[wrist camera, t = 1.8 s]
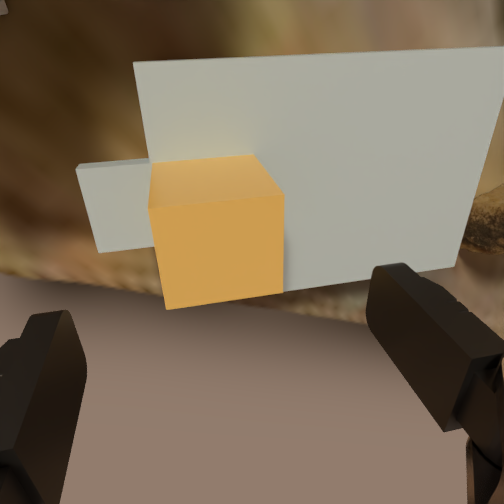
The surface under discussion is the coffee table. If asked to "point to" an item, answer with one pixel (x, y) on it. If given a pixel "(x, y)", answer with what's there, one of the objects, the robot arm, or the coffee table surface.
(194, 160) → the lid
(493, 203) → the rock
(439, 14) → the coffee table surface
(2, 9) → the supplement box
